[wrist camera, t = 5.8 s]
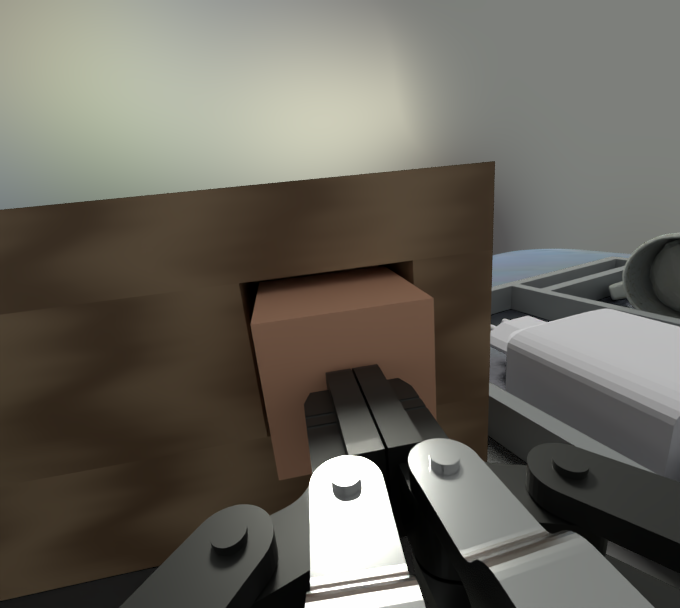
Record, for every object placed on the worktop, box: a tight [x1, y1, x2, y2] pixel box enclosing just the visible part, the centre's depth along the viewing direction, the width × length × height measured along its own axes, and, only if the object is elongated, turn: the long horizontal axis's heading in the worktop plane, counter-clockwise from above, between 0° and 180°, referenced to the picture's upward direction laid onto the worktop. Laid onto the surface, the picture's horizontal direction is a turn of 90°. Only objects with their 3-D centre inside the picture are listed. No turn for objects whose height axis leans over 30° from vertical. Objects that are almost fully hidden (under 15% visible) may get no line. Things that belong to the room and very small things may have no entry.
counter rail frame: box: [488, 257, 680, 474], centre depth 28 cm, size 35×24×2 cm
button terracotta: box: [251, 266, 437, 480], centre depth 13 cm, size 5×5×5 cm
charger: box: [490, 308, 680, 482], centre depth 23 cm, size 5×9×15 cm
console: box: [0, 161, 495, 601], centre depth 16 cm, size 28×8×14 cm, turn 99°
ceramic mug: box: [609, 233, 680, 319], centre depth 33 cm, size 11×8×8 cm
